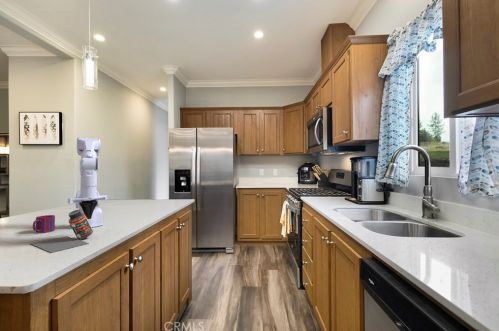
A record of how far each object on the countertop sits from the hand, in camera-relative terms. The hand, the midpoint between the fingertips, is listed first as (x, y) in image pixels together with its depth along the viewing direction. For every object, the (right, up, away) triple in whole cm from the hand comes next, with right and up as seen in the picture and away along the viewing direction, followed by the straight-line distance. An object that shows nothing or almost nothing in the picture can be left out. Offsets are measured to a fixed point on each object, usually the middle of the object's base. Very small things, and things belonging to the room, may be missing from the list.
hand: (88, 218), depth 102 cm
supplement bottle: (0, -7, -1) cm, 7 cm away
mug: (-26, -8, +8) cm, 28 cm away
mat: (-5, -8, -9) cm, 13 cm away
